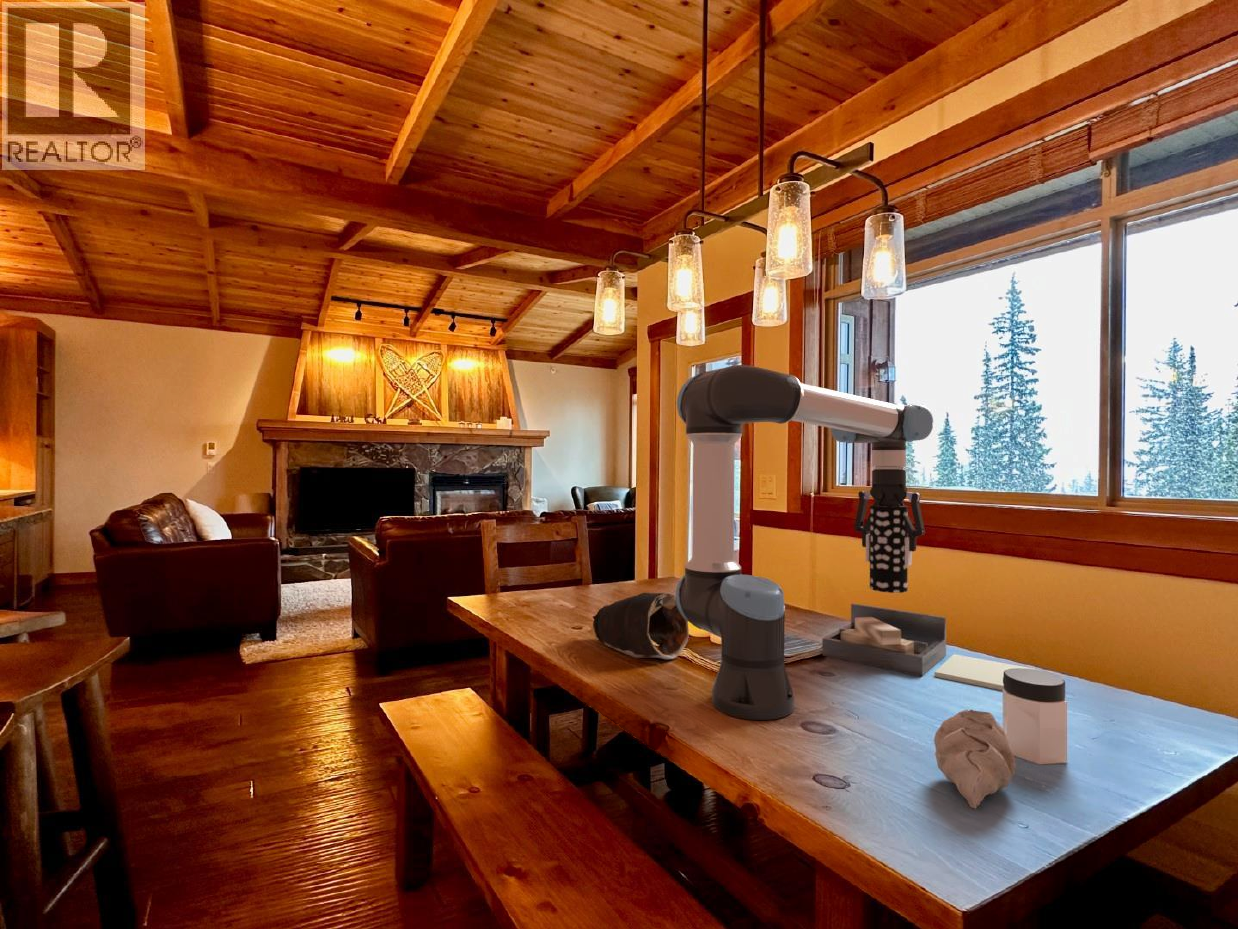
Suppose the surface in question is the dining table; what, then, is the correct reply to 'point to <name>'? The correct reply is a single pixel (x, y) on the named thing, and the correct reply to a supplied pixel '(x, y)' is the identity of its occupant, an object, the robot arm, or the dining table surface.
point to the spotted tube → (888, 549)
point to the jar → (1035, 715)
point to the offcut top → (878, 630)
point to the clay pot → (643, 626)
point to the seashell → (974, 754)
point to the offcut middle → (859, 638)
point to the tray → (913, 627)
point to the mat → (974, 671)
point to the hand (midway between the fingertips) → (888, 562)
